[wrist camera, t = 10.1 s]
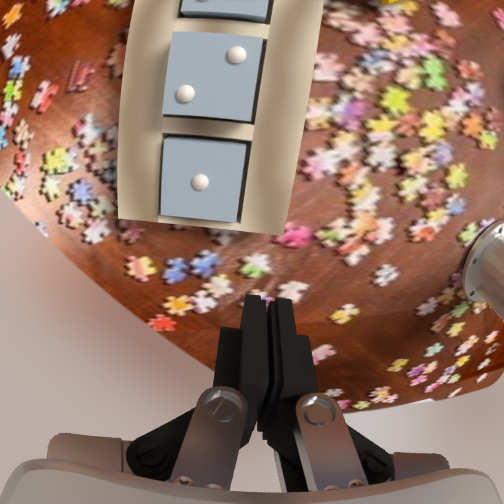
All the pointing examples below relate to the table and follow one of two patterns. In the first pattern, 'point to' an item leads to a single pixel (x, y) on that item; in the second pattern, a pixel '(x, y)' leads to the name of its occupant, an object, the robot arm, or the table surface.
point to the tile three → (226, 10)
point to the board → (252, 132)
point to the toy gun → (389, 1)
